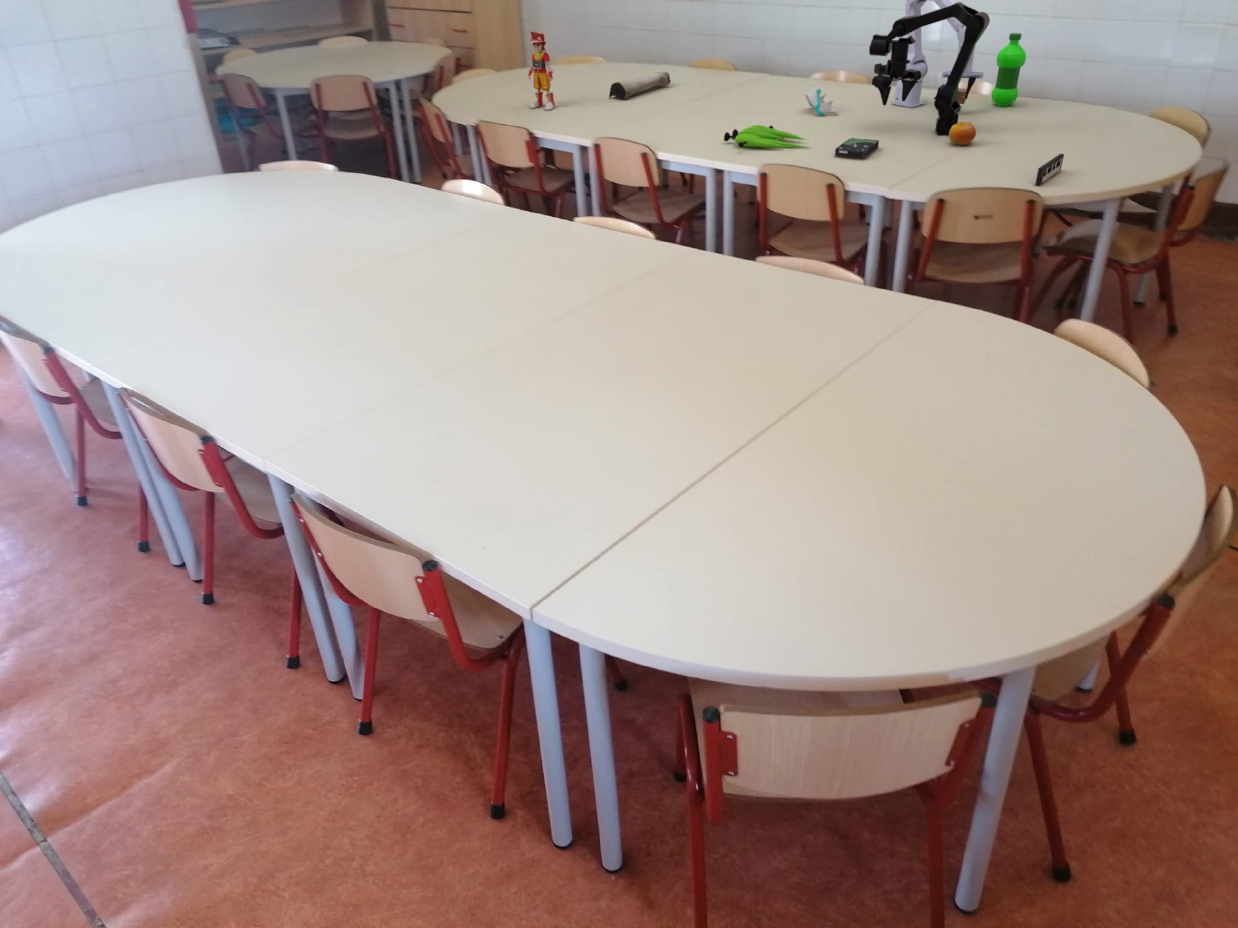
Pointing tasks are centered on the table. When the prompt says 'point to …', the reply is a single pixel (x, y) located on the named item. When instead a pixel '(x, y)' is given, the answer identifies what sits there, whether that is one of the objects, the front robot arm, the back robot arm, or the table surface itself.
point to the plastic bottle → (1008, 71)
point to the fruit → (962, 133)
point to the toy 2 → (761, 137)
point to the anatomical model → (819, 102)
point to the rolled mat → (638, 84)
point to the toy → (541, 71)
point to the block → (961, 95)
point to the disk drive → (856, 148)
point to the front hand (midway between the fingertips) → (893, 103)
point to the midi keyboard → (1049, 169)
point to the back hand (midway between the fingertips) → (958, 98)
